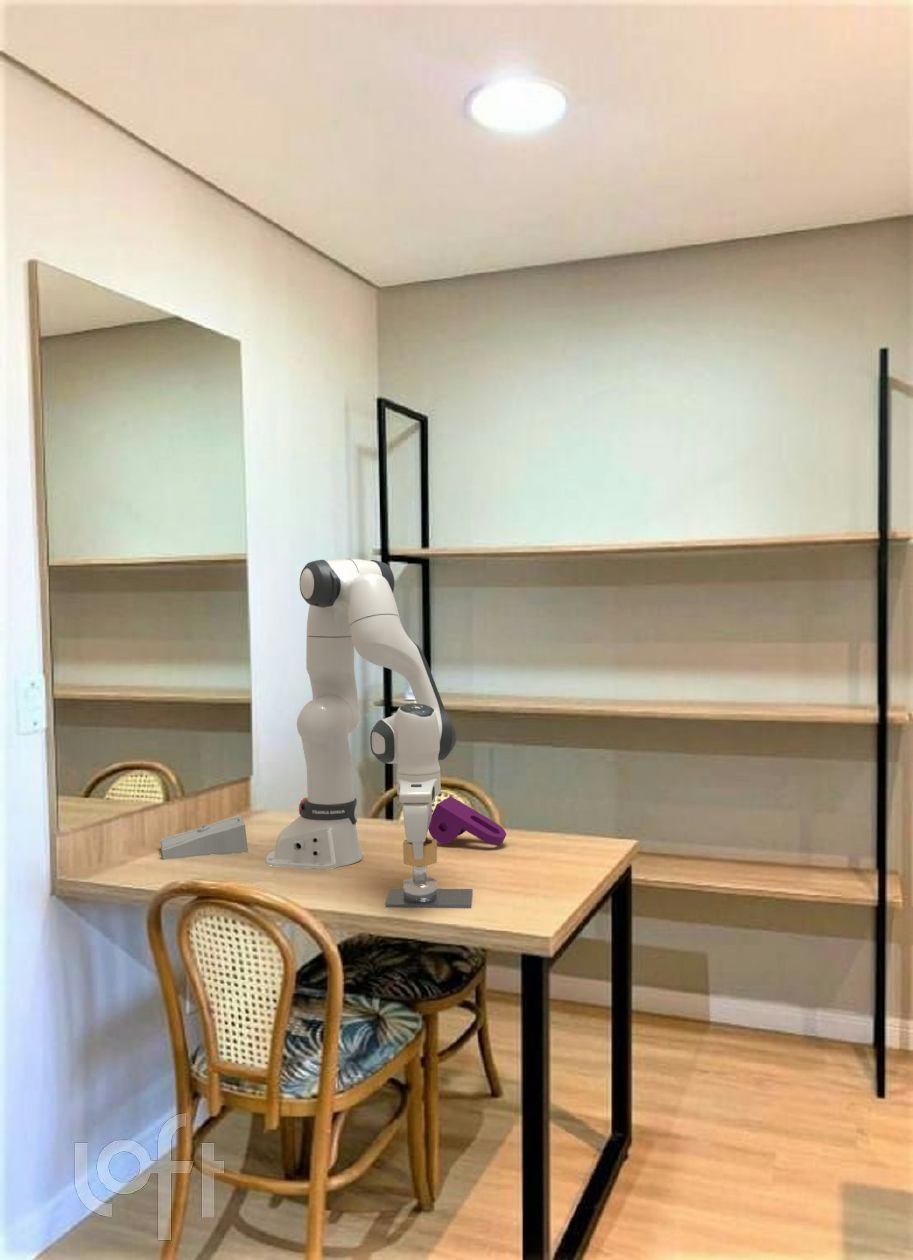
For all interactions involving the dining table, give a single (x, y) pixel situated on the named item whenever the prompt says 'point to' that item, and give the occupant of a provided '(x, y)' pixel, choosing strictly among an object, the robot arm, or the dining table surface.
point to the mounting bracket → (462, 823)
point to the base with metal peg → (427, 893)
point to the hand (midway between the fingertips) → (420, 852)
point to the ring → (428, 853)
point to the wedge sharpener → (207, 840)
